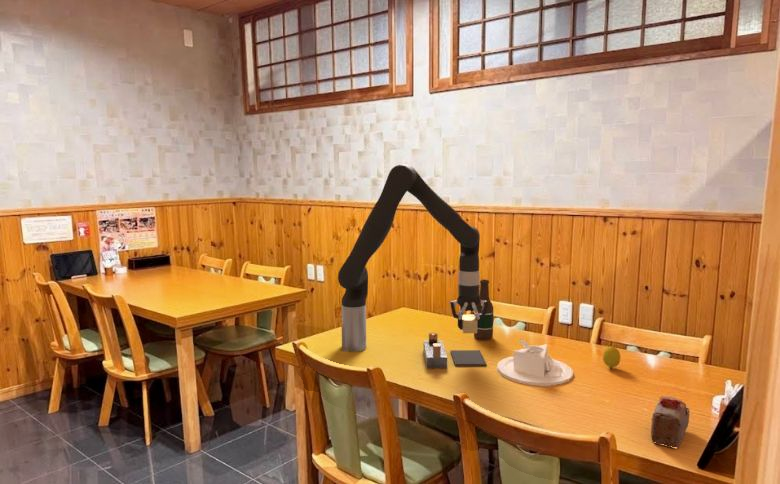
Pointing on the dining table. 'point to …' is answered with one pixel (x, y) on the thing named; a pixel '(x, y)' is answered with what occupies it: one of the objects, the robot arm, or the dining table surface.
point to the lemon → (611, 357)
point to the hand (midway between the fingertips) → (468, 328)
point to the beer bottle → (487, 322)
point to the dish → (534, 367)
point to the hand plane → (435, 353)
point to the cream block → (469, 324)
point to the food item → (669, 421)
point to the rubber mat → (467, 358)
